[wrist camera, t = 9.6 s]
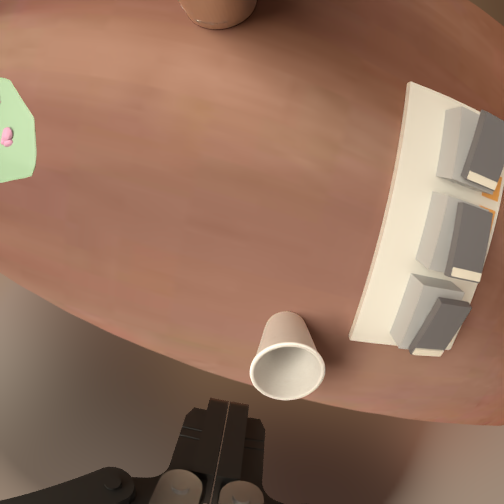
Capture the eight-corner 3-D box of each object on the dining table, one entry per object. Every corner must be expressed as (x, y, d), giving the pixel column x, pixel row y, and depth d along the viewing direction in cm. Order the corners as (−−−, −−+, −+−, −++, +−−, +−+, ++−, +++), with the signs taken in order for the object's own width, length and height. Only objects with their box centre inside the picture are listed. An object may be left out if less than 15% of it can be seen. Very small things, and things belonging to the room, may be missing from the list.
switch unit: (407, 83, 32) (428, 72, 26) (506, 129, 31) (532, 128, 25) (348, 335, 42) (357, 361, 36) (447, 346, 42) (463, 367, 36)
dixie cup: (246, 343, 43) (238, 388, 34) (269, 293, 41) (267, 333, 31) (300, 361, 44) (304, 408, 34) (326, 314, 41) (339, 357, 32)
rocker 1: (438, 296, 31) (442, 304, 30) (468, 301, 31) (472, 309, 30) (408, 347, 35) (410, 355, 34) (437, 349, 35) (440, 357, 34)
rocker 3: (457, 202, 30) (464, 202, 28) (487, 212, 29) (494, 213, 28) (443, 275, 31) (450, 277, 29) (473, 281, 31) (480, 283, 29)
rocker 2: (481, 109, 24) (487, 112, 23) (510, 125, 24) (517, 128, 23) (460, 175, 29) (465, 180, 28) (489, 187, 29) (495, 192, 28)
